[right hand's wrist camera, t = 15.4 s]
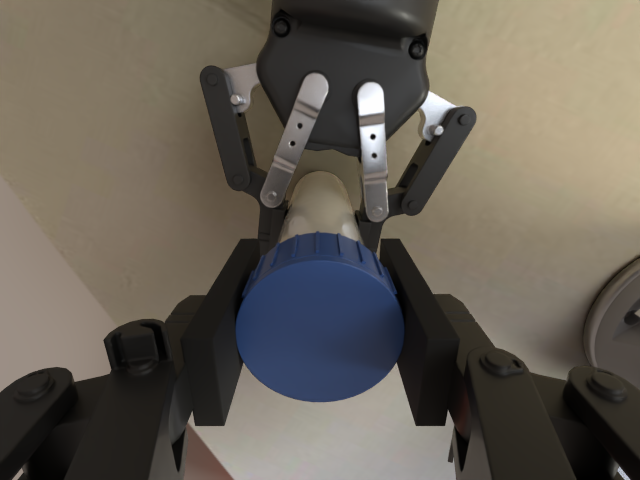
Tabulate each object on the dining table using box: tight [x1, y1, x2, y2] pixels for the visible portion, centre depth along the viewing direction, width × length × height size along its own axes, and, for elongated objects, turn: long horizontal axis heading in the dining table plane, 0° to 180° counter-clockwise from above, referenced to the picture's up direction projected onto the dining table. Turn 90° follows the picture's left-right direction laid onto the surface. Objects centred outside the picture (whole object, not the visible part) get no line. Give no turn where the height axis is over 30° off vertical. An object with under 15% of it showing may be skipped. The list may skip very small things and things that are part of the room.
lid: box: [235, 231, 405, 402], centre depth 11 cm, size 5×5×2 cm
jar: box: [277, 171, 364, 245], centre depth 18 cm, size 4×4×16 cm
